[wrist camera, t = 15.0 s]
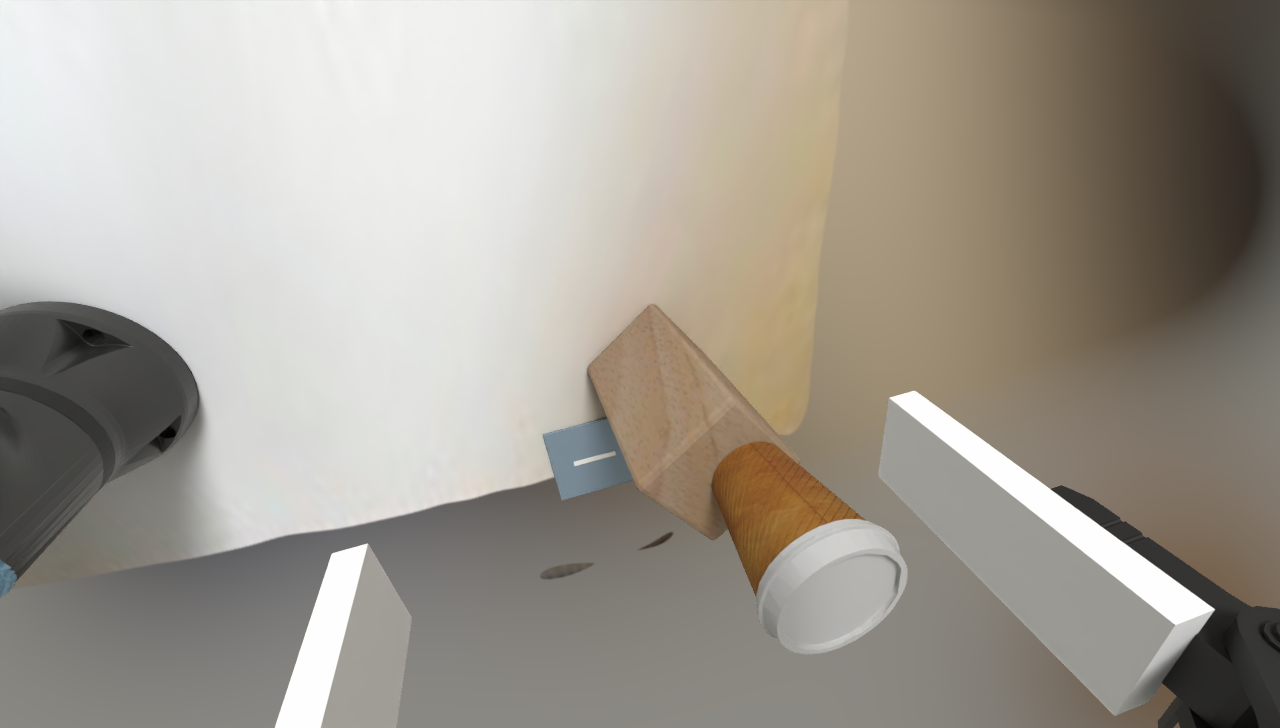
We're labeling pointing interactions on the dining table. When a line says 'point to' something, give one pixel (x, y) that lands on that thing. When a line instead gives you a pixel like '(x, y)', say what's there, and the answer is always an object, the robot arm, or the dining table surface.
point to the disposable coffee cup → (805, 551)
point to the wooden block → (674, 417)
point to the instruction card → (586, 458)
